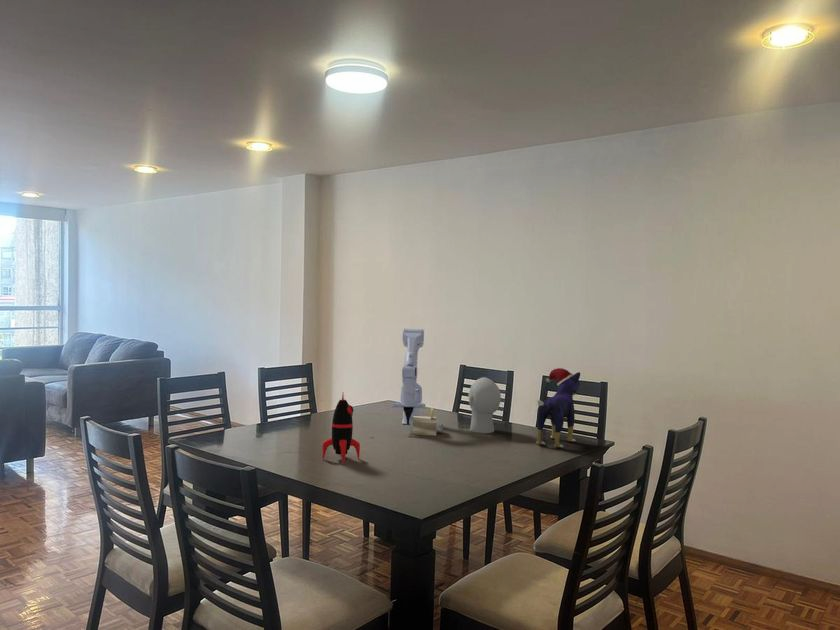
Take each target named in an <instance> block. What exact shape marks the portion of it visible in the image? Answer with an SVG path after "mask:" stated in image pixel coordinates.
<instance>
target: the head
mask: <svg viewBox="0 0 840 630" xmlns="http://www.w3.org/2000/svg"><path fill="white" fill-rule="evenodd" d="M501 395H502V393H501V391H500V388H499V386H498V385H497V384H496V383H495V382H494V381H493V380H492V379H490V378H488V377H485V376H484V377H480V378H478V379H476V380H474V382H473V383H472V384H471V386H470V388H469V392H468V395H467V396H468V403H469V407H470V409H471V421H470V427H469V431H470V432H473V433H476V434H492V433H494V432H495V427H494V420H493V417H494V413H496V412H497V411H498V409H499V407H500V404H501V402H502V397H501Z"/></svg>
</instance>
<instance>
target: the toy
mask: <svg viewBox="0 0 840 630" xmlns="http://www.w3.org/2000/svg"><path fill="white" fill-rule="evenodd" d="M580 377H581V372H580V371H579V372H576V373H575V374H573V373H572V372H570V371H569V370H567V369H565V368H563V367H562V368H561V367H560V368H559V367H557V368H554V369H552V370H551V371H550V372H549V375H548V377H546V380H545V381H546V382H547V383H550V382H551V380H555V381H556V386H557V387H558V388H557V391H556V393H555V394H554V395H553V396H551V397H549V398H547V399H545V400H543V401H542V400H541V399H537V400H536V401H537V406H538V407H537V412H536V423H537V424H536V425H537V427H536V444H537V445H540V446H541V445H542V446H543V445H544V446H545V445H546V442H544V441H542V432H543V428H544V426H545V423H546V420H547V418H548V417H549V419H550V424H551V435H550V439H554V448H559V449H560V448H561V449H563V448H564V445H563V444H562V443H561V444H560V436H561V432H562V430H563V428H564V421H565V419H566V423H567V439H566V441H568V442H574V443H575V442H576V439H575V438H573V434H574V427H575V404H574V398H573V397H574V396H575V395H577V393H578V390H579V387H580Z"/></svg>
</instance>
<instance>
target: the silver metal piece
mask: <svg viewBox="0 0 840 630" xmlns="http://www.w3.org/2000/svg"><path fill="white" fill-rule="evenodd" d="M443 433H444V423H437V430H436V434H443ZM409 434H410V435H413V417H410V424H409Z"/></svg>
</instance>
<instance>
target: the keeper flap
mask: <svg viewBox="0 0 840 630" xmlns="http://www.w3.org/2000/svg"><path fill="white" fill-rule="evenodd" d="M430 416H431V420H433V417H434V408H433V407H430Z"/></svg>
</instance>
